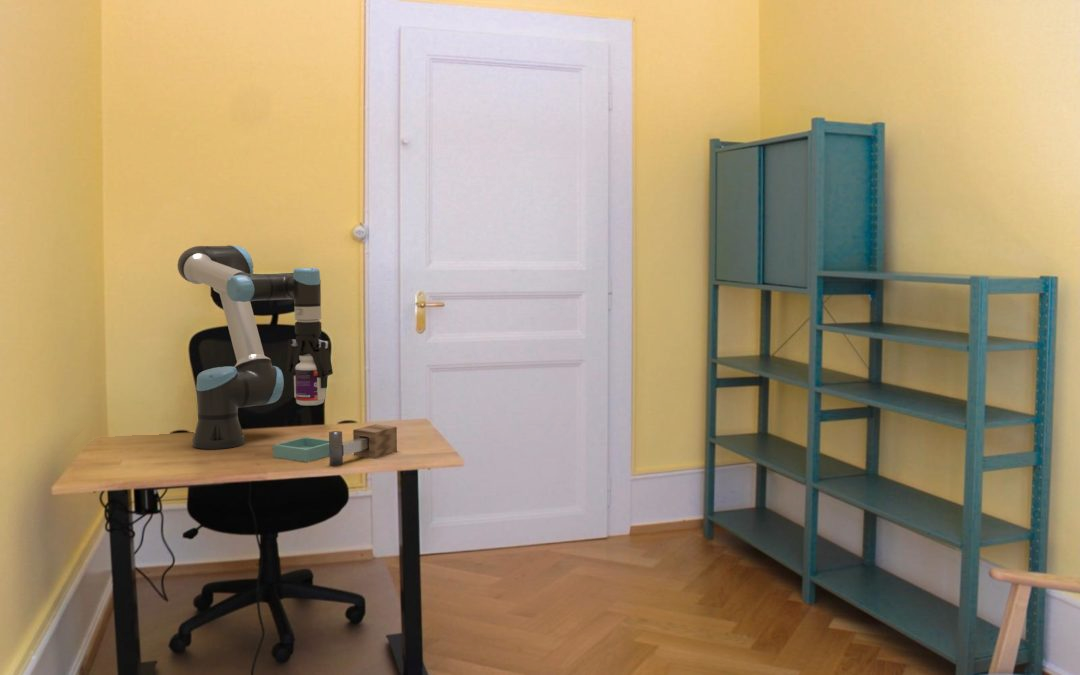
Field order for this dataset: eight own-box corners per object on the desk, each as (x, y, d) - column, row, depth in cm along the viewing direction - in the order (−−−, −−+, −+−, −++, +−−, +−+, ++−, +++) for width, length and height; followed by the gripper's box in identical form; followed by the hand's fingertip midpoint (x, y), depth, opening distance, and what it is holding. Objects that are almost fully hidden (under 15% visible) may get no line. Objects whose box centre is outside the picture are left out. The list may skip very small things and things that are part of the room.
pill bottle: (318, 406, 276) (316, 357, 275) (291, 406, 278) (290, 356, 276) (328, 402, 284) (327, 354, 283) (302, 401, 286) (301, 353, 284)
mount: (375, 458, 275) (374, 432, 275) (353, 455, 279) (353, 429, 279) (397, 451, 284) (396, 426, 283) (375, 448, 288) (375, 424, 287)
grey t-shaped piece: (336, 466, 264) (336, 433, 264) (326, 464, 266) (326, 432, 265) (377, 454, 279) (376, 423, 279) (367, 452, 281) (367, 422, 280)
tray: (273, 457, 277) (272, 444, 276) (305, 448, 288) (304, 437, 288) (306, 462, 270) (306, 449, 270) (338, 453, 282) (337, 441, 281)
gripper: (271, 320, 280) (274, 397, 282) (327, 323, 271) (329, 402, 273) (289, 318, 287) (291, 393, 289) (344, 321, 277) (346, 398, 279)
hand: (310, 398), depth 281 cm, fingers closed on pill bottle, 8 cm apart
